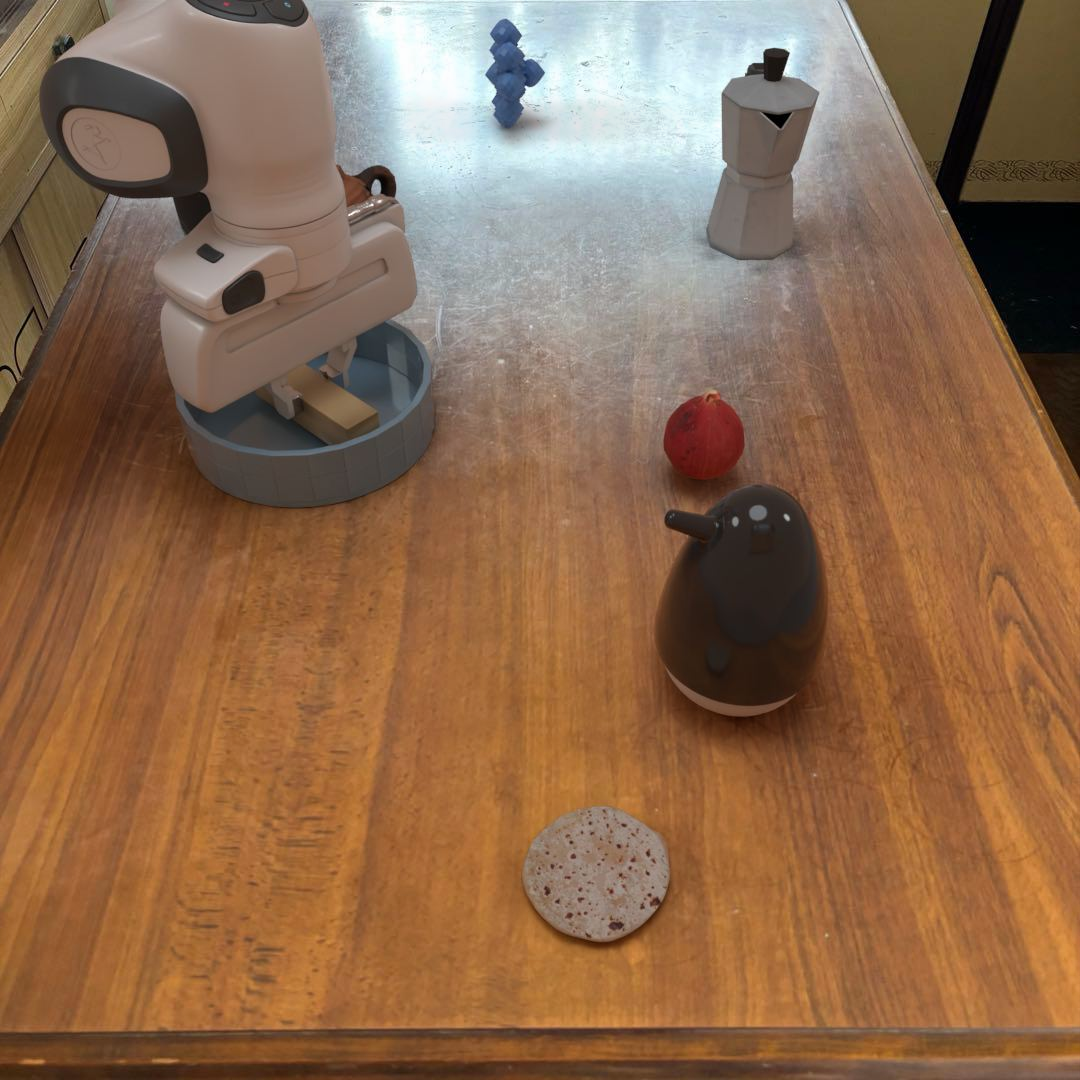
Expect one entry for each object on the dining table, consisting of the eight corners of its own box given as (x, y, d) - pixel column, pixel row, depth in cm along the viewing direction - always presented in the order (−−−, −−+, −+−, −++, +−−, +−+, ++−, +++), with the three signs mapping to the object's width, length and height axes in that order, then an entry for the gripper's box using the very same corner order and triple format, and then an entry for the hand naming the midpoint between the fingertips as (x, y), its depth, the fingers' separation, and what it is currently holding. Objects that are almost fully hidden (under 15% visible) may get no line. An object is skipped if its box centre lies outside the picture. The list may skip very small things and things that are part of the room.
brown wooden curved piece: (345, 283, 104) (292, 207, 99) (305, 285, 111) (254, 214, 107) (433, 210, 107) (386, 133, 103) (389, 216, 115) (343, 145, 111)
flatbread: (581, 973, 56) (581, 964, 55) (496, 862, 60) (495, 853, 59) (701, 885, 59) (703, 876, 58) (613, 787, 63) (614, 777, 63)
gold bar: (255, 394, 88) (248, 363, 86) (285, 378, 90) (279, 347, 88) (351, 461, 82) (346, 429, 80) (382, 442, 84) (378, 411, 82)
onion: (676, 509, 81) (687, 422, 75) (649, 460, 84) (657, 374, 79) (749, 494, 82) (765, 408, 76) (719, 446, 86) (732, 361, 80)
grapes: (549, 146, 123) (551, 36, 115) (489, 149, 123) (486, 38, 115) (540, 104, 132) (540, -3, 123) (483, 106, 131) (480, -1, 123)
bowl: (141, 429, 87) (124, 377, 84) (331, 330, 97) (323, 280, 94) (291, 546, 78) (280, 493, 74) (485, 422, 88) (482, 371, 84)
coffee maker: (805, 271, 104) (841, 79, 92) (712, 271, 104) (736, 80, 92) (779, 196, 115) (809, 16, 103) (695, 197, 115) (714, 16, 102)
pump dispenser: (636, 619, 73) (652, 440, 62) (791, 611, 73) (834, 432, 63) (658, 748, 66) (682, 570, 55) (830, 738, 66) (886, 560, 55)
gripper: (371, 171, 82) (388, 329, 92) (130, 276, 71) (178, 442, 81) (428, 199, 79) (440, 359, 89) (185, 313, 68) (228, 481, 78)
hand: (313, 400), depth 85 cm, fingers closed on gold bar, 3 cm apart
